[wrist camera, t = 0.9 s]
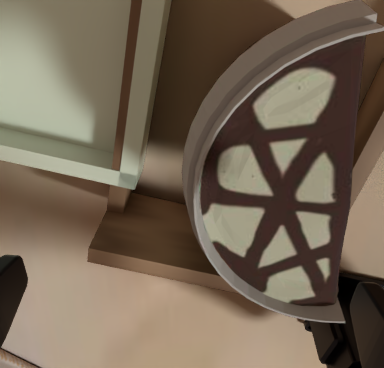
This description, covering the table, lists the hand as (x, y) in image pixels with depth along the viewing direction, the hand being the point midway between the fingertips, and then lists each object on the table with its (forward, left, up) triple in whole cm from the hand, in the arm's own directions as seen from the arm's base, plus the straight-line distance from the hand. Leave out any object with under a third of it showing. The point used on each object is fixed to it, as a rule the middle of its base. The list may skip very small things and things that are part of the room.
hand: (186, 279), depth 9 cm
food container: (-2, -1, -13) cm, 14 cm away
